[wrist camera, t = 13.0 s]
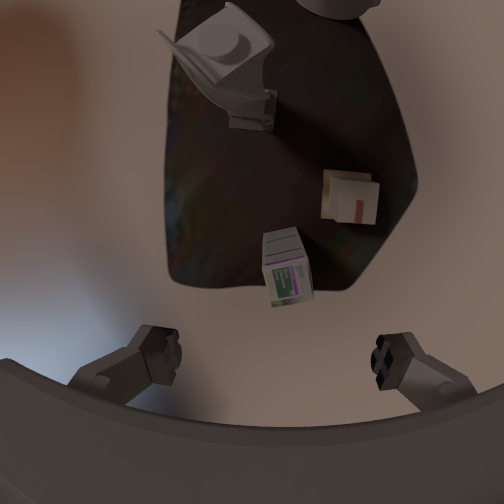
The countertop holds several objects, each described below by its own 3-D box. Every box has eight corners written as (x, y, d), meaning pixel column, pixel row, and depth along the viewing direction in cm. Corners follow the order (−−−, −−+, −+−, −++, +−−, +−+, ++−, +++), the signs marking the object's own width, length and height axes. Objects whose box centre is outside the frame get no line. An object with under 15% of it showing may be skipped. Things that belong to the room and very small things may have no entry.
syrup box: (262, 232, 45) (258, 269, 32) (297, 225, 44) (308, 258, 31) (270, 263, 47) (269, 309, 33) (303, 256, 46) (315, 300, 33)
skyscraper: (220, 127, 40) (140, 93, 14) (225, 81, 37) (161, -6, 11) (273, 132, 39) (278, 95, 13) (278, 85, 37) (289, -9, 10)
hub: (323, 169, 41) (330, 171, 36) (370, 173, 40) (381, 176, 36) (320, 217, 43) (326, 225, 39) (365, 220, 43) (375, 228, 38)
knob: (330, 175, 40) (341, 180, 34) (365, 179, 40) (381, 184, 34) (327, 212, 42) (337, 223, 36) (361, 214, 42) (376, 225, 36)
